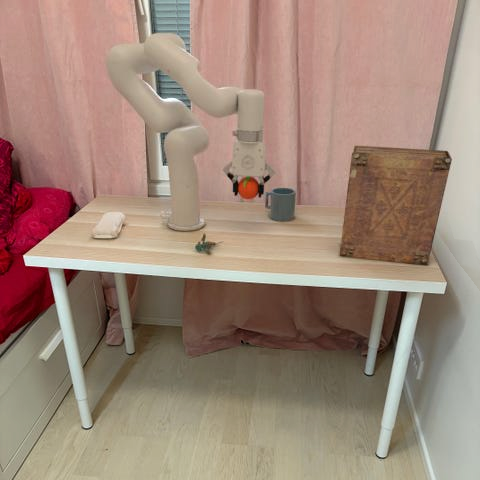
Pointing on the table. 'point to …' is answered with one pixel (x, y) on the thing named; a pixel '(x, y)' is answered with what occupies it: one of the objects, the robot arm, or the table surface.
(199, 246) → the dragon figurine
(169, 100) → the robot arm
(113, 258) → the table surface
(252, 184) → the clementine
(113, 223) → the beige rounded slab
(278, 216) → the blue mug
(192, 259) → the table surface
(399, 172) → the book
